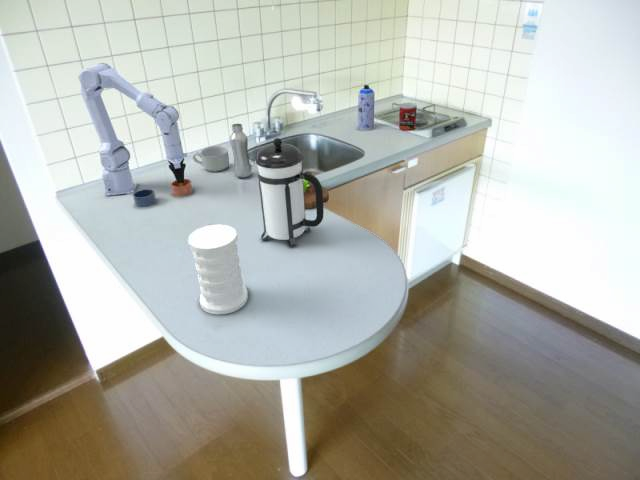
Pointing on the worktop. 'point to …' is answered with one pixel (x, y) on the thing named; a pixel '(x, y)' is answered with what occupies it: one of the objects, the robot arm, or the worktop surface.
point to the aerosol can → (366, 109)
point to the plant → (312, 193)
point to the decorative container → (218, 269)
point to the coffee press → (285, 192)
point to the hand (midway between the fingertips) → (180, 180)
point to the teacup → (213, 158)
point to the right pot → (182, 188)
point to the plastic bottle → (240, 151)
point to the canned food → (407, 116)
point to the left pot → (144, 198)
